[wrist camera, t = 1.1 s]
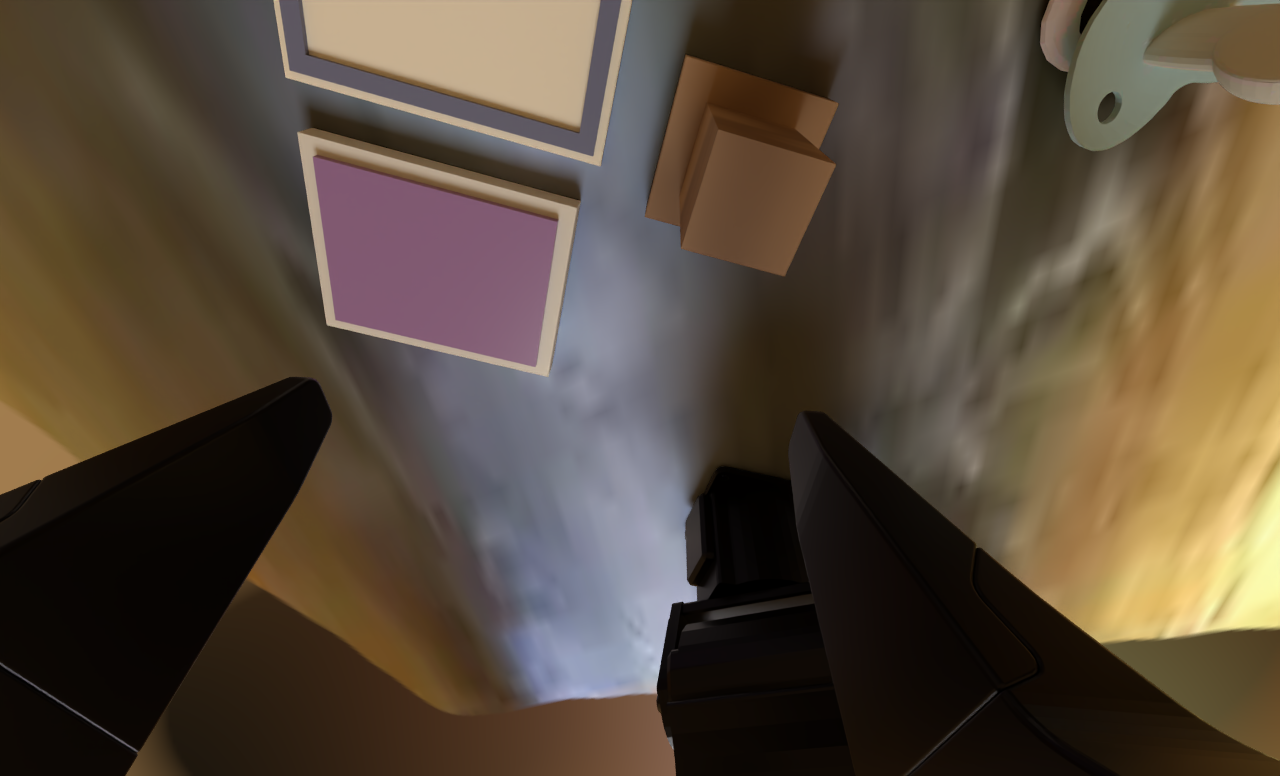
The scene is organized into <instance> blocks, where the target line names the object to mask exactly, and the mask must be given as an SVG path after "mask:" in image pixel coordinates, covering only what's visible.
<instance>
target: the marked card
mask: <svg viewBox="0 0 1280 776" xmlns="http://www.w3.org/2000/svg"><path fill="white" fill-rule="evenodd" d="M631 5H632V0H274V6H275V13H276V19H277V25H278V32H279V38H280V45H281V51H282V57H283V64H284V70H285V76H286V78H289V79H293V80H296V81H300V82H303V83H307V84H310V85H314V86H317V87H321V88H325V89H328V90H332V91H335V92H339V93H342V94H346V95H349V96H353V97H356V98H360V99H364V100H367V101H371V102H374V103H378V104H381V105H385V106H388V107H392V108H395V109H399V110H403V111H406V112H410V113H413V114H417V115H420V116H424V117H427V118H431V119H434V120H438V121H442V122H445V123H449V124H452V125H456V126H459V127H463V128H466V129H470V130H474V131H477V132H481V133H484V134H488V135H491V136H495V137H498V138H502V139H505V140H509V141H513V142H516V143H520V144H523V145H527V146H530V147H534V148H537V149H541V150H544V151H548V152H552V153H555V154H559V155H562V156H566V157H569V158H573V159H576V160H580V161H583V162H587V163H591V164H594V165H598V166H601V162H602V157H603V152H604V147H605V141H606V136H607V131H608V126H609V120H610V115H611V110H612V105H613V99H614V94H615V89H616V84H617V79H618V73H619V68H620V63H621V58H622V52H623V47H624V42H625V37H626V31H627V26H628V21H629V16H630V10H631Z"/></svg>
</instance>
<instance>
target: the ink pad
mask: <svg viewBox="0 0 1280 776" xmlns="http://www.w3.org/2000/svg"><path fill="white" fill-rule="evenodd" d="M297 133H298V140H299V146H300V153H301V159H302V166H303V172H304V179H305V185H306V192H307V198H308V205H309V211H310V218H311V224H312V231H313V237H314V244H315V251H316V257H317V264H318V270H319V277H320V283H321V290H322V296H323V303H324V309H325V316H326V322H327V325H329V326H333V327H337V328H342V329H346V330H350V331H355V332H359V333H363V334H367V335H372V336H376V337H380V338H384V339H389V340H393V341H397V342H401V343H406V344H410V345H414V346H419V347H423V348H427V349H431V350H436V351H440V352H444V353H448V354H453V355H457V356H461V357H466V358H470V359H474V360H478V361H483V362H487V363H491V364H495V365H500V366H504V367H508V368H513V369H517V370H521V371H525V372H530V373H534V374H538V375H542V376H547V377H548V376H549V373H550V370H551V367H552V363H553V357H554V351H555V345H556V340H557V334H558V328H559V323H560V317H561V311H562V305H563V300H564V294H565V288H566V283H567V277H568V271H569V265H570V260H571V254H572V248H573V243H574V237H575V231H576V226H577V220H578V214H579V208H580V203H581V201H579V200H575V199H571V198H568V197H564V196H560V195H557V194H553V193H549V192H546V191H542V190H539V189H535V188H531V187H528V186H524V185H520V184H517V183H513V182H509V181H506V180H502V179H498V178H495V177H491V176H487V175H484V174H480V173H476V172H473V171H469V170H465V169H462V168H458V167H454V166H451V165H447V164H443V163H440V162H436V161H432V160H429V159H425V158H421V157H418V156H414V155H410V154H407V153H403V152H400V151H396V150H392V149H389V148H385V147H381V146H378V145H374V144H370V143H367V142H363V141H359V140H356V139H352V138H348V137H345V136H341V135H337V134H334V133H330V132H326V131H323V130H319V129H315V128H310V129H306V130H303V131H299V132H297Z"/></svg>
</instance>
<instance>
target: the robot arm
mask: <svg viewBox="0 0 1280 776" xmlns="http://www.w3.org/2000/svg"><path fill="white" fill-rule="evenodd" d="M331 422H332V412H331V409H330V407H329V404H328V402H327V400H326V397H325V395H324V393H323V390H322V388H321V386H320V384H319V382H318V381H317V380H315V379H313V378H307V377H289V378H286V379H284V380H281V381H279V382H276V383H274V384H271V385H269V386H266V387H264V388H262V389H259V390H257V391H254V392H252V393H249V394H247V395H244V396H242V397H239V398H237V399H235V400H232V401H230V402H227V403H225V404H222V405H220V406H217V407H215V408H213V409H210V410H208V411H205V412H203V413H200V414H198V415H195V416H193V417H190V418H188V419H186V420H183V421H181V422H178V423H176V424H173V425H171V426H168V427H166V428H163V429H161V430H159V431H156V432H154V433H151V434H149V435H146V436H144V437H141V438H139V439H136V440H134V441H132V442H129V443H127V444H124V445H122V446H119V447H117V448H114V449H112V450H110V451H107V452H105V453H102V454H100V455H97V456H95V457H92V458H90V459H87V460H85V461H83V462H80V463H78V464H75V465H73V466H70V467H68V468H66V469H63V470H60V471H58V472H56V473H53V474H51V475H48V476H46V477H44V478H43V480H36V481H33V482H31V483H28V484H26V485H23V486H21V487H18V488H16V489H14V490H11V491H9V492H6V493H4V494H1V495H0V776H125V775H126V774H127V772H128V771H129V769H130V767H131V766H132V764H133V762H134V761H135V759H136V757H137V752H139V751H140V750H141V748H142V747H143V745H144V744H145V742H146V740H147V739H148V737H149V735H150V734H151V732H152V731H153V729H154V727H155V726H156V724H157V723H158V721H159V719H160V717H161V716H162V714H163V713H164V711H165V710H166V708H167V706H168V705H169V703H170V701H171V699H172V698H173V696H174V695H175V693H176V691H177V690H178V688H179V687H180V685H181V683H182V681H183V680H184V678H185V677H186V675H187V674H188V672H189V670H190V669H191V667H192V665H193V664H194V662H195V661H196V659H197V657H198V655H199V654H200V652H201V651H202V649H203V648H204V646H205V644H206V643H207V641H208V639H209V638H210V636H211V634H212V633H213V631H214V630H215V628H216V626H217V625H218V623H219V622H220V620H221V618H222V617H223V615H224V613H225V612H226V610H227V609H228V607H229V605H230V604H231V602H232V600H233V599H234V597H235V595H236V594H237V592H238V591H239V589H240V587H241V586H242V584H243V582H244V581H245V579H246V578H247V576H248V574H249V573H250V571H251V569H252V568H253V566H254V565H255V563H256V561H257V560H258V558H259V556H260V555H261V553H262V552H263V550H264V548H265V547H266V545H267V543H268V542H269V540H270V538H271V537H272V535H273V534H274V532H275V530H276V529H277V527H278V525H279V524H280V522H281V521H282V519H283V517H284V516H285V514H286V512H287V511H288V509H289V508H290V506H291V504H292V503H293V501H294V499H295V497H296V496H297V494H298V492H299V490H300V488H301V486H302V484H303V482H304V480H305V478H306V476H307V474H308V472H309V470H310V468H311V466H312V463H313V461H314V459H315V457H316V455H317V453H318V451H319V449H320V447H321V444H322V442H323V440H324V438H325V436H326V434H327V432H328V430H329V428H330V425H331ZM788 455H789V465H790V474H791V481H788V480H784V479H779V478H775V477H770V476H766V475H761V474H757V473H753V472H748V471H744V470H739V469H735V468H730V467H720V468H718V469H717V470H716V471H715V473H714V475H713V477H712V479H711V481H710V483H709V485H708V487H707V489H706V491H705V493H704V494H701V495H700V496H698V498H697V500H696V502H695V504H694V506H693V508H692V510H691V512H690V514H689V516H688V518H687V520H686V531H685V539H686V554H687V581H688V582H689V584H690V585H692V586H697V601H695V602H689V603H683V602H679V603H673V604H672V608H671V613H670V619H669V620H668V626H667V631H666V637H665V643H664V648H663V654H662V660H661V665H660V671H659V677H658V682H657V694H658V696H657V708H658V711H659V712H660V713H661V715H662V720H663V725H664V729H665V732H666V735H667V738H668V741H669V743H670V745H671V747H672V748H673V750H674V756H675V766H676V776H1280V760H1278V759H1275V758H1273V757H1270V756H1268V755H1266V754H1264V753H1261V752H1260V751H1257V750H1255V749H1253V748H1251V747H1249V746H1247V745H1245V744H1243V743H1241V742H1239V741H1238V740H1236V739H1234V738H1232V737H1230V736H1229V735H1227V734H1224V733H1223V732H1221V731H1220V730H1218V729H1216V728H1215V727H1213V726H1212V725H1210V724H1209V723H1207V722H1205V721H1204V720H1202V719H1201V718H1199V717H1197V716H1196V715H1195V714H1194V713H1192V712H1190V711H1189V710H1188V709H1187V708H1185V707H1184V706H1182V705H1181V704H1179V703H1178V702H1177V701H1176V700H1174V699H1173V698H1172V697H1170V696H1169V695H1168V694H1166V693H1165V692H1164V691H1162V690H1161V689H1160V688H1158V687H1157V686H1156V685H1154V684H1153V683H1152V682H1150V681H1149V680H1147V679H1146V678H1145V677H1144V676H1142V675H1141V674H1140V673H1138V672H1137V671H1136V670H1134V669H1133V668H1132V667H1131V666H1129V665H1128V664H1127V663H1125V662H1124V661H1122V660H1121V659H1120V658H1119V657H1117V656H1116V655H1115V654H1113V653H1112V652H1110V651H1109V650H1108V649H1107V648H1105V647H1104V646H1103V645H1101V644H1100V643H1099V642H1098V641H1096V640H1095V639H1094V638H1092V637H1091V636H1090V635H1088V634H1087V633H1086V632H1084V631H1083V630H1082V629H1080V628H1079V627H1078V626H1076V625H1075V624H1074V623H1073V622H1071V621H1070V620H1069V619H1067V618H1066V617H1065V616H1064V615H1062V614H1061V613H1060V612H1058V611H1057V610H1056V609H1055V608H1053V607H1052V606H1051V605H1049V604H1048V603H1047V602H1046V601H1044V600H1043V599H1042V598H1040V597H1039V596H1038V595H1037V594H1035V593H1034V592H1033V591H1032V590H1031V589H1029V588H1028V587H1027V586H1026V585H1025V584H1023V583H1022V582H1021V581H1020V580H1019V579H1017V578H1016V577H1015V576H1014V575H1013V574H1011V573H1010V572H1009V571H1008V570H1007V569H1005V568H1004V567H1003V566H1002V565H1001V564H999V563H998V562H997V561H996V560H995V559H994V558H992V557H991V556H990V555H989V554H988V553H987V552H985V551H984V550H983V549H982V548H977V545H976V543H975V542H974V541H972V540H971V539H970V538H969V537H968V536H967V535H966V534H964V533H963V532H962V531H961V530H960V529H959V528H957V527H956V526H955V525H954V524H953V523H952V522H950V521H949V520H948V519H947V518H946V517H945V516H943V515H942V514H941V513H940V512H939V511H938V510H936V509H935V508H934V507H933V506H932V505H931V504H930V503H928V502H927V501H926V500H925V499H924V498H923V497H921V496H920V495H919V494H918V493H917V492H916V491H914V490H913V489H912V488H911V487H910V486H909V485H907V484H906V483H905V482H904V481H903V480H902V479H901V478H899V477H898V476H897V475H896V474H895V473H894V472H892V471H891V470H890V469H889V468H888V467H887V466H885V465H884V464H883V463H882V462H881V461H880V460H878V459H877V458H876V457H875V456H874V455H873V454H872V453H870V452H869V451H868V450H867V449H866V448H865V447H863V446H862V445H861V444H860V443H859V442H858V441H856V440H855V439H854V438H853V437H852V436H851V435H849V434H848V433H847V432H846V431H845V430H844V429H843V428H841V427H840V426H839V425H838V424H837V423H836V422H834V421H833V420H832V419H831V418H830V417H829V416H827V415H826V414H825V413H823V412H816V411H802V412H800V413H799V415H798V417H797V420H796V423H795V426H794V430H793V433H792V436H791V440H790V443H789V450H788ZM722 475H727V476H722Z"/></svg>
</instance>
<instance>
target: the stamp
mask: <svg viewBox="0 0 1280 776" xmlns="http://www.w3.org/2000/svg"><path fill="white" fill-rule="evenodd" d="M838 105H839V103H837V102H835V101H833V100H831V99H828V98H826V97H823V96H819V95H816V94H813V93H810V92H807V91H803V90H800V89H797V88H794V87H790V86H787V85H784V84H781V83H778V82H774V81H771V80H768V79H765V78H762V77H758V76H755V75H752V74H749V73H746V72H742V71H739V70H736V69H733V68H730V67H726V66H723V65H720V64H717V63H713V62H710V61H707V60H704V59H701V58H697V57H694V56H691V55H688V54H685V57H684V61H683V65H682V69H681V73H680V77H679V80H678V84H677V88H676V92H675V96H674V100H673V104H672V108H671V112H670V116H669V120H668V124H667V127H666V131H665V135H664V139H663V143H662V147H661V151H660V155H659V159H658V163H657V167H656V171H655V174H654V178H653V182H652V186H651V190H650V194H649V198H648V202H647V206H646V213H645V217H647V218H651V219H655V220H658V221H662V222H666V223H669V224H673V225H676V226H680V233H681V249H684V250H688V251H691V252H695V253H699V254H703V255H706V256H710V257H714V258H717V259H721V260H725V261H729V262H732V263H736V264H740V265H744V266H747V267H751V268H755V269H758V270H762V271H766V272H770V273H773V274H777V275H781V276H784V277H785V274H786V272H787V270H788V268H789V266H790V264H791V261H792V259H793V257H794V255H795V253H796V251H797V249H798V246H799V244H800V242H801V240H802V238H803V236H804V233H805V231H806V229H807V227H808V225H809V223H810V220H811V218H812V216H813V214H814V212H815V210H816V207H817V205H818V203H819V201H820V199H821V197H822V194H823V192H824V190H825V188H826V186H827V184H828V181H829V179H830V177H831V175H832V173H833V171H834V168H835V166H836V164H835V163H834V162H833V161H832V160H831V159H829V158H828V157H827V156H826V155H825V154H824V153H822V152H821V151H820V150H819V148H820V146H821V144H822V141H823V139H824V137H825V134H826V132H827V130H828V128H829V125H830V123H831V121H832V118H833V116H834V114H835V111H836V109H837V107H838Z"/></svg>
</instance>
